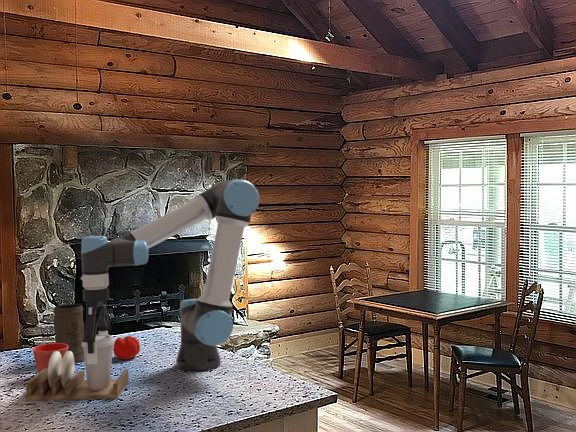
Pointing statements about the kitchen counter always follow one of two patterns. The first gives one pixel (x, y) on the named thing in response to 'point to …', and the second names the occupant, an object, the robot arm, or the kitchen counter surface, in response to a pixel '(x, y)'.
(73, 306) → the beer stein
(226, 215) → the robot arm
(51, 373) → the dish rack
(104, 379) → the coffee cup
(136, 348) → the tomato
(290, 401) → the kitchen counter surface
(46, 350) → the flower pot
